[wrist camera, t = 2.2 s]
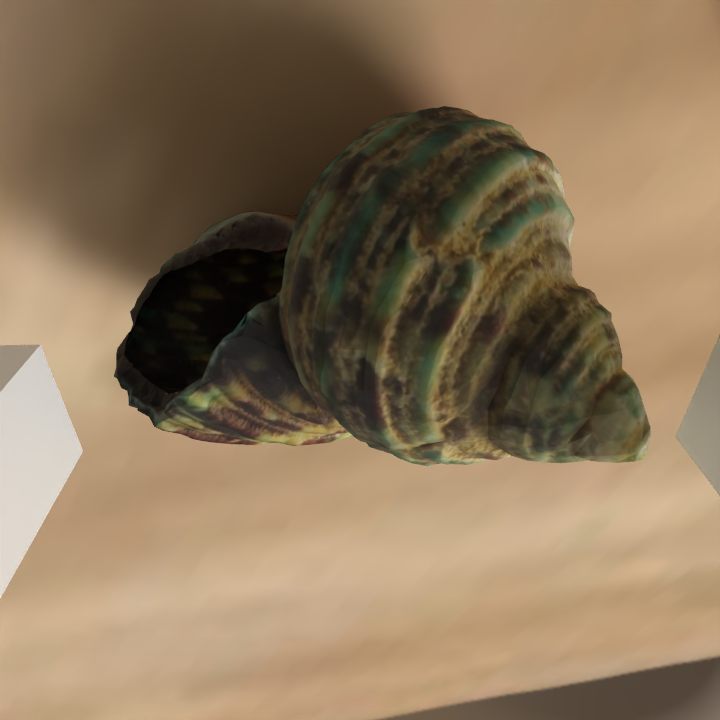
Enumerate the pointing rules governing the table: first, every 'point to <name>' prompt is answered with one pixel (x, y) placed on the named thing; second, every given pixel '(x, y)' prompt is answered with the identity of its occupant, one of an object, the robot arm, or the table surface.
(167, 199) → the table surface
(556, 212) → the seashell
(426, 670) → the table surface
